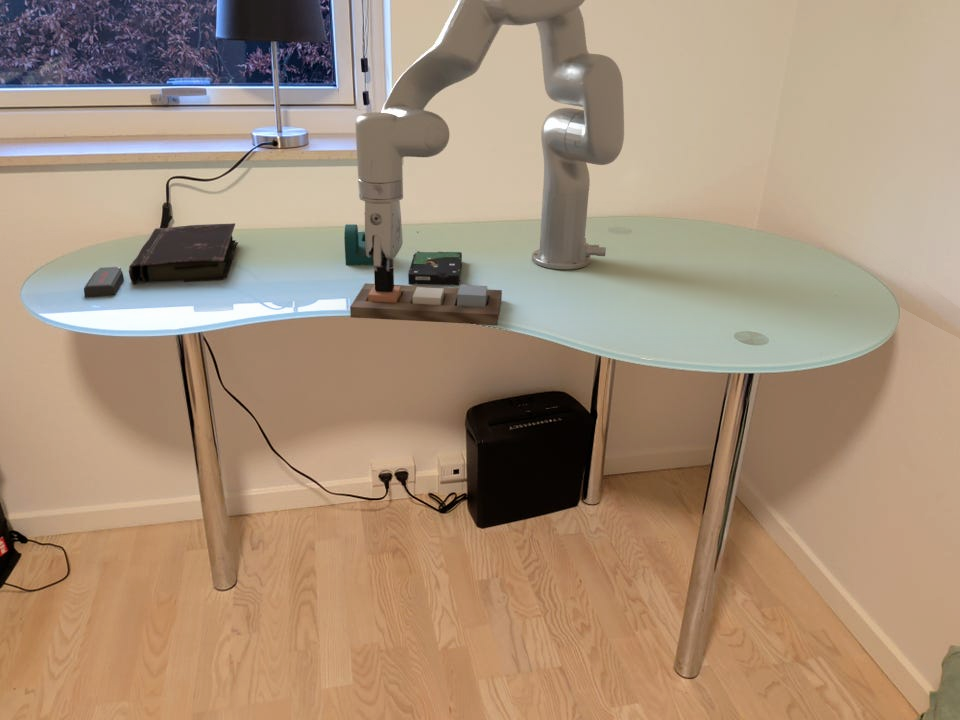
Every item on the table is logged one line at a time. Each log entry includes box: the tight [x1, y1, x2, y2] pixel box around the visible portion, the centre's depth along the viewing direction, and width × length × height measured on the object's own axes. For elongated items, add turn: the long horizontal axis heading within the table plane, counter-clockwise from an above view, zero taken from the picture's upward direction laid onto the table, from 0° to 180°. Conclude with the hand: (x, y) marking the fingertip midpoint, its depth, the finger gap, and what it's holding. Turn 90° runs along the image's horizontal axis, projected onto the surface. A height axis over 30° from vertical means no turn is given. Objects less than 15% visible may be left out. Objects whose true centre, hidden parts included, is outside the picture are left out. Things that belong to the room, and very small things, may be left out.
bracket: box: [344, 223, 374, 266], centre depth 164 cm, size 18×7×8 cm, turn 4°
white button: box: [412, 287, 444, 305], centre depth 136 cm, size 5×5×3 cm
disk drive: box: [407, 251, 463, 286], centre depth 154 cm, size 10×3×15 cm
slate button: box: [457, 284, 488, 307], centre depth 135 cm, size 5×5×3 cm
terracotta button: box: [368, 285, 401, 303], centre depth 137 cm, size 5×5×3 cm
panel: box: [349, 282, 503, 326], centre depth 136 cm, size 26×12×2 cm, turn 85°
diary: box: [128, 222, 239, 285], centre depth 156 cm, size 19×25×5 cm
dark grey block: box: [83, 266, 125, 298], centre depth 143 cm, size 5×12×3 cm, turn 13°
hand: (384, 289), depth 136 cm, fingers closed
